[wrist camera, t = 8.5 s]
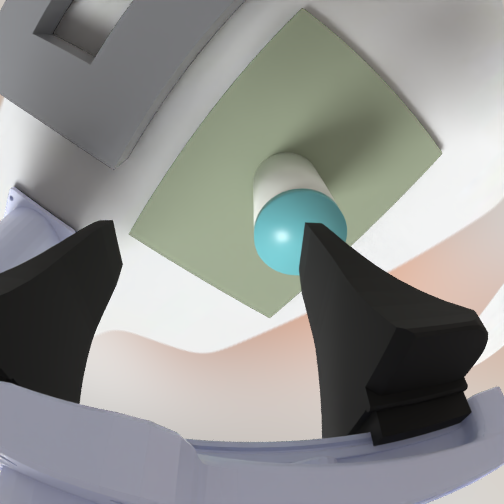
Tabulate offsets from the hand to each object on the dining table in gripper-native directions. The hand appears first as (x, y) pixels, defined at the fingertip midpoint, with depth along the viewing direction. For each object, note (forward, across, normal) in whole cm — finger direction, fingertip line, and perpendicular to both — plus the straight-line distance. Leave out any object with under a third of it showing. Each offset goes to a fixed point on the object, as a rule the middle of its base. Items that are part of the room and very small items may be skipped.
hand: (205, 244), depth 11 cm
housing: (+10, +9, -12) cm, 18 cm away
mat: (+10, -4, +1) cm, 11 cm away
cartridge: (+10, -4, +1) cm, 11 cm away
